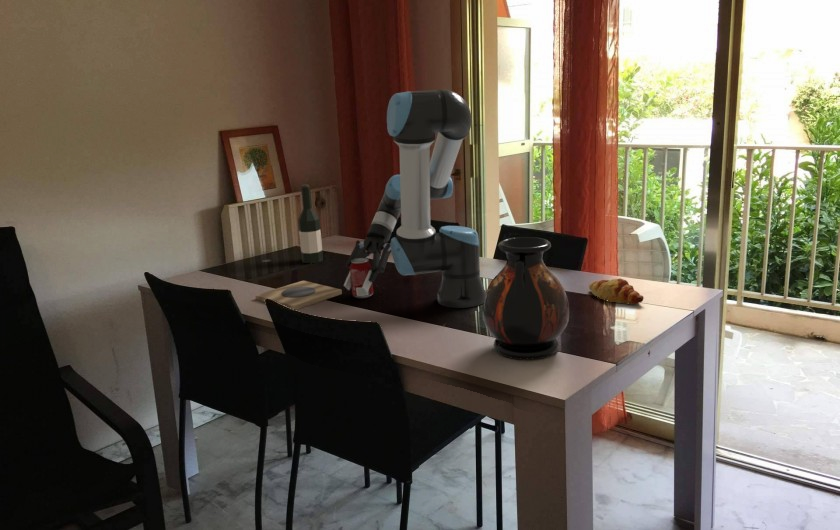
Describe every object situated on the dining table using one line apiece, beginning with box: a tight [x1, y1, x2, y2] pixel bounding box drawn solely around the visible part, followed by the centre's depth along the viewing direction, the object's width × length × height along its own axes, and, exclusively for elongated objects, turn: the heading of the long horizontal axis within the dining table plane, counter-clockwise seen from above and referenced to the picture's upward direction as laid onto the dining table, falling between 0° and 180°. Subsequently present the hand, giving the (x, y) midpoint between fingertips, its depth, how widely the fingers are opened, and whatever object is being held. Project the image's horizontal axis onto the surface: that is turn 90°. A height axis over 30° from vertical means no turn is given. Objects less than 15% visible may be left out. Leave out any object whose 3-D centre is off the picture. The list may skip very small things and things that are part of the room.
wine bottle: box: [297, 184, 324, 265], centre depth 282 cm, size 8×8×30 cm
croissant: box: [588, 277, 645, 305], centre depth 221 cm, size 21×10×8 cm, turn 33°
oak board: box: [255, 280, 343, 310], centre depth 240 cm, size 20×20×2 cm
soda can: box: [350, 257, 374, 299], centre depth 235 cm, size 7×7×12 cm
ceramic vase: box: [481, 236, 570, 361], centre depth 182 cm, size 22×22×28 cm
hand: (355, 288), depth 233 cm, fingers closed on soda can, 7 cm apart
